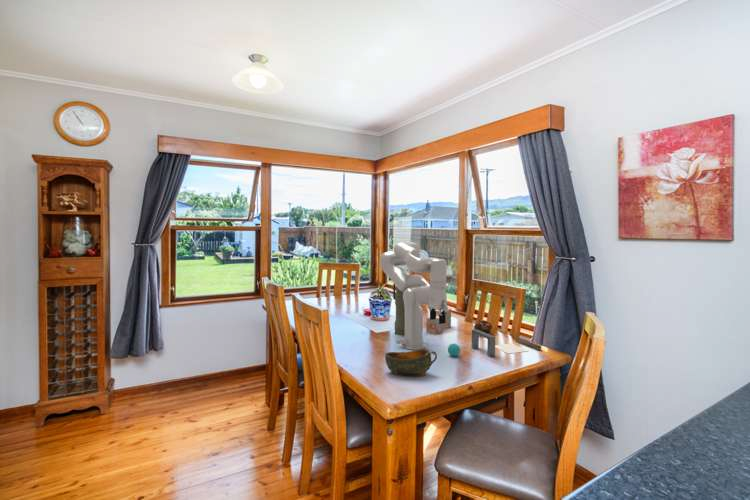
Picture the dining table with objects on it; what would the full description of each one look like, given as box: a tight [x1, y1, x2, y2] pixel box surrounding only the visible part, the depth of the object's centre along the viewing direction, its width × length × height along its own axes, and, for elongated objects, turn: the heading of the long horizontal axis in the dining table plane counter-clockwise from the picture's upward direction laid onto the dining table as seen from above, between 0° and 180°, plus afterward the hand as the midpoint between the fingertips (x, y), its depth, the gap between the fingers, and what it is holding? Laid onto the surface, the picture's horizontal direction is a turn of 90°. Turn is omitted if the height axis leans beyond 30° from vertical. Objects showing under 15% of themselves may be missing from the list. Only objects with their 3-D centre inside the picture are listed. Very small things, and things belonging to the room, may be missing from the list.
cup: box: [384, 348, 438, 378], centre depth 158 cm, size 13×20×10 cm, turn 56°
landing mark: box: [495, 343, 529, 355], centre depth 193 cm, size 13×13×1 cm
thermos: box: [392, 283, 405, 336], centre depth 220 cm, size 9×12×35 cm
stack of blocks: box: [425, 307, 452, 335], centre depth 229 cm, size 21×6×12 cm, turn 143°
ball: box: [447, 343, 461, 357], centre depth 181 cm, size 6×6×6 cm
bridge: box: [471, 328, 496, 358], centre depth 187 cm, size 3×15×10 cm, turn 20°
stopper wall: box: [515, 336, 542, 352], centre depth 197 cm, size 2×16×2 cm, turn 21°
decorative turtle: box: [473, 320, 493, 334], centre depth 220 cm, size 10×15×8 cm, turn 139°
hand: (437, 321), depth 177 cm, fingers open, 7 cm apart
